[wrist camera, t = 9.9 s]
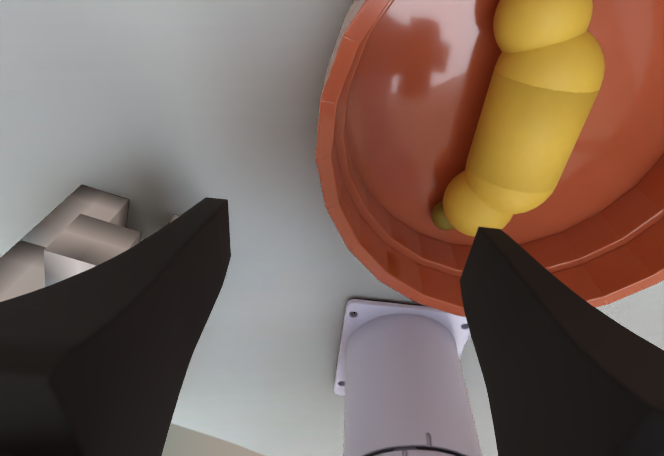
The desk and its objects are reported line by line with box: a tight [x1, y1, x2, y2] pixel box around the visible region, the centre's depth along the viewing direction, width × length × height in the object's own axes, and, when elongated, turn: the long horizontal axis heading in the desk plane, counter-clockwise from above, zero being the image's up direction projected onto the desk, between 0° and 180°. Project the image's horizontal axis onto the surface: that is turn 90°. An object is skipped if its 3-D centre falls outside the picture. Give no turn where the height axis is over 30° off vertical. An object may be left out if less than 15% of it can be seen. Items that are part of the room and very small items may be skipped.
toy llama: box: [0, 185, 179, 302], centre depth 19 cm, size 8×18×20 cm, turn 160°
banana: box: [431, 0, 605, 237], centre depth 17 cm, size 12×4×4 cm, turn 175°
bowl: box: [316, 0, 664, 317], centre depth 17 cm, size 17×17×5 cm
